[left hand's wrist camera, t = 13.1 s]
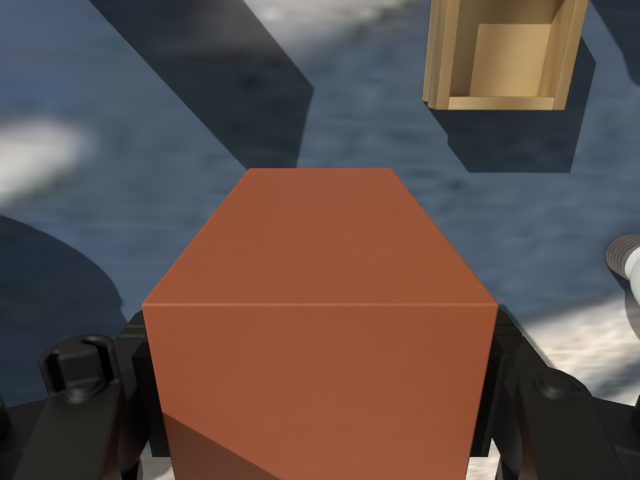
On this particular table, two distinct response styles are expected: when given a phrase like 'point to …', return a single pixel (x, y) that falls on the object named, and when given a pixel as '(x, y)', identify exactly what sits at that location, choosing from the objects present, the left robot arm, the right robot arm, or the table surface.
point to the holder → (501, 53)
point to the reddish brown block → (320, 335)
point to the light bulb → (626, 260)
